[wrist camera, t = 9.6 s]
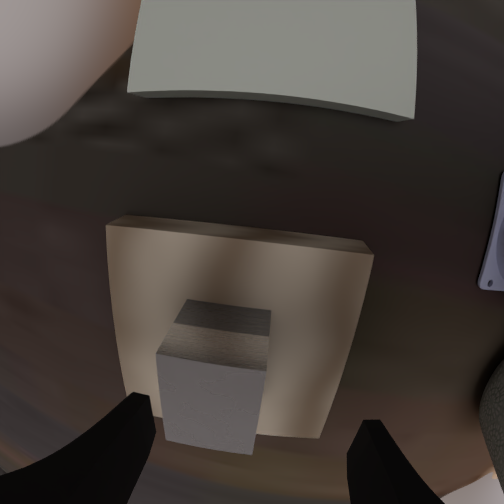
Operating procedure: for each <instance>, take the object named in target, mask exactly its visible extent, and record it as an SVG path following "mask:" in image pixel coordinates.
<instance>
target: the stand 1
mask: <svg viewBox="0 0 504 504" xmlns="http://www.w3.org/2000/svg"><path fill="white" fill-rule="evenodd" d="M416 75H417V22H416V2H415V0H142V1H141V6H140V11H139V16H138V22H137V27H136V32H135V38H134V44H133V51H132V57H131V64H130V72H129V80H128V88H127V92H128V93H131V94H134V95H138V96H141V97H145V98H164V97H202V98H230V99H247V100H260V101H272V102H282V103H291V104H299V105H307V106H314V107H321V108H328V109H334V110H340V111H346V112H352V113H357V114H362V115H367V116H372V117H377V118H382V119H386V120H391V121H395V122H399V121H405V120H411V119H414V112H415V97H416Z"/></svg>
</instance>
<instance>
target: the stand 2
mask: <svg viewBox="0 0 504 504" xmlns="http://www.w3.org/2000/svg"><path fill="white" fill-rule="evenodd" d="M106 240H107V257H108V271H109V283H110V293H111V302H112V311H113V319H114V326H115V333H116V340H117V346H118V352H119V358H120V364H121V370H122V375H123V380H124V385H125V390H126V395H127V396H128V395H129V394H130V393H132V392H137V393H141V394H145V395H149V396H150V401H151V407H152V412H153V416H157V417H161V418H163V416H162V409H161V401H160V393H159V384H158V375H157V365H156V354H155V353H156V352H157V350H158V348H159V346H160V345H161V343H162V341H163V340H164V338H165V336H166V334H167V333H168V331H169V329H170V327H171V326H172V324H173V322H174V321H175V319H176V317H177V315H178V314H179V312H180V310H181V309H182V307H183V305H184V303H185V302H186V300H187V299H191V300H197V301H204V302H211V303H218V304H226V305H233V306H241V307H249V308H257V309H265V310H271V321H270V334H269V347H268V360H267V372H266V378H265V384H264V390H263V396H262V402H261V408H260V413H259V419H258V425H257V430H256V434H263V435H273V436H286V437H301V438H319V437H320V434H321V432H322V429H323V427H324V424H325V421H326V419H327V416H328V413H329V411H330V408H331V405H332V402H333V400H334V397H335V394H336V391H337V388H338V385H339V382H340V379H341V376H342V373H343V370H344V367H345V364H346V361H347V357H348V354H349V351H350V348H351V344H352V341H353V337H354V334H355V330H356V327H357V323H358V320H359V316H360V312H361V309H362V305H363V301H364V297H365V293H366V289H367V285H368V281H369V276H370V272H371V268H372V263H373V259H374V254H373V253H372V252H371V250H370V249H369V248H368V247H367V245H366V244H365V243H364V242H363V241H361V240H354V239H346V238H338V237H330V236H322V235H314V234H306V233H297V232H289V231H280V230H272V229H263V228H254V227H245V226H236V225H226V224H217V223H207V222H197V221H187V220H177V219H167V218H156V217H145V216H134V215H124V216H122V217H120V218H118V219H116V220H115V221H113V222H111V223H109V224H107V225H106Z"/></svg>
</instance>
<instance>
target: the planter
mask: <svg viewBox="0 0 504 504" xmlns="http://www.w3.org/2000/svg"><path fill="white" fill-rule="evenodd" d="M479 422H480V426H481V430H482V433H483V437H484V440H485V443H486V446H487V448H488V451H489V454H490V457H491V460H492V462H493V465H494V468H495V471H496V474H497V477H498V479H499V482H500V485H501V487H502V490H503V493H504V359H503V360H502V361H501V362H500V364H499V365H498V366H497V368H496V369H495V371H494V372H493V374H492V375H491V377H490V379H489V381H488V383H487V385H486V387H485V389H484V392H483V395H482V398H481V401H480V407H479Z"/></svg>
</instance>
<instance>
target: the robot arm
mask: <svg viewBox="0 0 504 504" xmlns="http://www.w3.org/2000/svg"><path fill="white" fill-rule="evenodd" d="M489 281H490V283H489V284H488V282H489ZM478 286H479V287H480V288H481V289H485V290H495V291H504V172H503V174H502V177H501V183H500V189H499V195H498V201H497V206H496V212H495V217H494V221H493V226H492V230H491V235H490V239H489V243H488V247H487V251H486V254H485V258H484V262H483V265H482V269H481V272H480V275H479V279H478ZM155 434H156V428H155V423H154V418H153V412H152V407H151V401H150V396H149V395H145V394H141V393H137V392H132V393H130V394H129V395H128V396H127V397H126V398H125V399H124V400H123V401H122V402H121V403H119V404H118V405H117V406H116V407H115V408H114V409H113V410H112V411H110V412H109V413H108V414H107V415H106V416H105V417H103V418H102V419H101V420H100V421H99V422H97V423H96V424H95V425H94V426H92V427H91V428H90V429H89V430H87V431H86V432H85V433H83V434H82V435H81V436H79V437H78V438H76V439H75V440H74V441H72V442H71V443H69V444H68V445H66V446H65V447H63V448H61V449H60V450H58V451H56V452H55V453H53V454H51V455H49V456H48V457H46V458H44V459H42V460H40V461H37V462H35V463H33V464H31V465H29V466H26V467H24V468H21V469H19V470H16V471H13V472H10V473H7V474H4V475H1V476H0V504H127V502H128V500H129V498H130V496H131V493H132V491H133V489H134V487H135V485H136V483H137V480H138V478H139V476H140V474H141V472H142V470H143V467H144V465H145V463H146V461H147V459H148V456H149V454H150V450H151V447H152V444H153V441H154V437H155ZM347 480H348V487H349V494H350V501H351V504H445V503H444V502H443V501H442V500H441V499H440V498H439V497H438V496H437V495H436V494H435V493H434V492H433V491H432V490H431V489H430V488H429V487H428V485H427V484H426V483H425V482H424V481H423V479H422V478H421V477H420V476H419V475H418V473H417V472H416V471H415V469H414V468H413V467H412V465H411V464H410V463H409V461H408V460H407V459H406V457H405V456H404V454H403V453H402V452H401V450H400V449H399V447H398V446H397V444H396V443H395V441H394V440H393V438H392V437H391V435H390V434H389V432H388V431H387V429H386V428H385V426H384V425H383V423H382V422H381V420H363V422H362V424H361V426H360V428H359V430H358V432H357V434H356V436H355V438H354V440H353V442H352V444H351V446H350V448H349V450H348V452H347Z"/></svg>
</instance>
